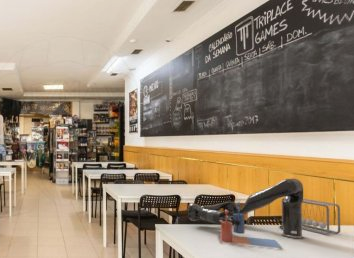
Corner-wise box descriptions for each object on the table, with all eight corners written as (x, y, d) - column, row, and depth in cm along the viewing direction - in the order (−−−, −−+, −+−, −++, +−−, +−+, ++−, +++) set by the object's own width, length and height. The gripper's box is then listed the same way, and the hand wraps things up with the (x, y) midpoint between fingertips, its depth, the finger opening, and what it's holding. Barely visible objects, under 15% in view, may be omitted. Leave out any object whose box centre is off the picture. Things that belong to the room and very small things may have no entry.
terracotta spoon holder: (220, 238, 185) (220, 208, 186) (231, 240, 184) (231, 208, 184) (221, 241, 180) (221, 209, 181) (232, 242, 178) (232, 210, 179)
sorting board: (218, 235, 195) (218, 234, 195) (274, 241, 185) (274, 239, 185) (220, 243, 180) (220, 241, 180) (281, 249, 170) (281, 248, 170)
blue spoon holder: (232, 230, 192) (232, 200, 193) (243, 231, 190) (243, 201, 191) (234, 232, 187) (233, 202, 188) (245, 234, 185) (245, 203, 186)
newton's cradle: (340, 234, 201) (340, 204, 202) (328, 235, 198) (327, 205, 199) (293, 223, 230) (292, 196, 230) (281, 224, 226) (281, 197, 227)
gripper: (224, 222, 205) (251, 228, 190) (208, 224, 198) (235, 231, 183) (224, 209, 205) (251, 214, 190) (208, 211, 198) (235, 217, 183)
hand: (243, 222), depth 187 cm, fingers closed on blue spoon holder, 5 cm apart
